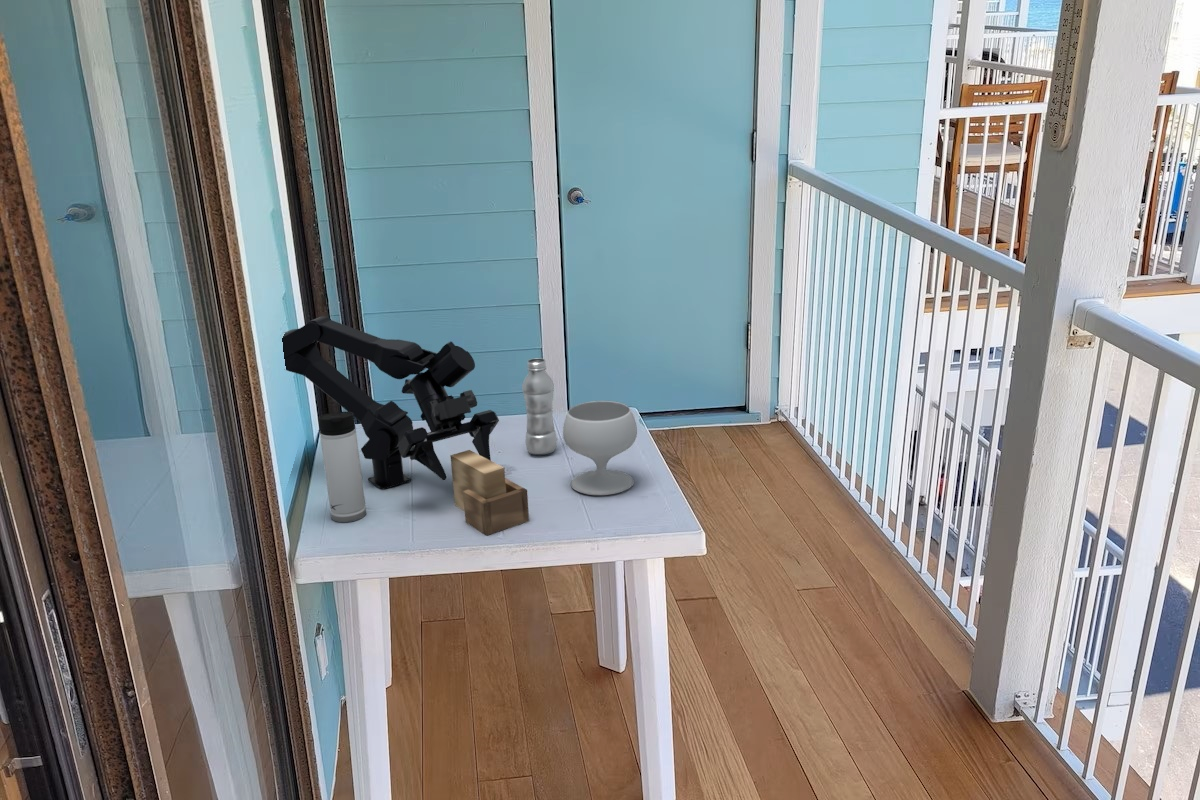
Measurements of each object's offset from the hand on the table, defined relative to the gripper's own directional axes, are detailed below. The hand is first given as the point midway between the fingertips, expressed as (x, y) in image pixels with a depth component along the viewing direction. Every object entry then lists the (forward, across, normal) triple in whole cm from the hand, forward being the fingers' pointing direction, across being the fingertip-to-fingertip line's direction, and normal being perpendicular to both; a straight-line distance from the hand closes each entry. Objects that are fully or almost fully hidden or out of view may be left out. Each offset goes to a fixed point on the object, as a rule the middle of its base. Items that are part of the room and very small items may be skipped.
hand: (467, 472), depth 182 cm
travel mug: (-3, -19, +13) cm, 23 cm away
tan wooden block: (+7, 0, +2) cm, 8 cm away
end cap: (+11, 0, -2) cm, 11 cm away
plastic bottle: (-5, +25, +15) cm, 29 cm away
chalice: (+11, +24, -1) cm, 27 cm away
